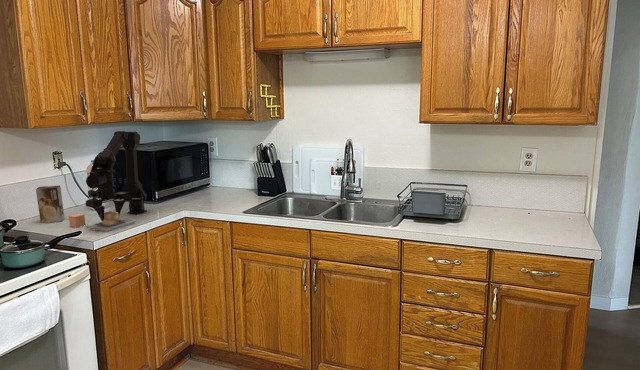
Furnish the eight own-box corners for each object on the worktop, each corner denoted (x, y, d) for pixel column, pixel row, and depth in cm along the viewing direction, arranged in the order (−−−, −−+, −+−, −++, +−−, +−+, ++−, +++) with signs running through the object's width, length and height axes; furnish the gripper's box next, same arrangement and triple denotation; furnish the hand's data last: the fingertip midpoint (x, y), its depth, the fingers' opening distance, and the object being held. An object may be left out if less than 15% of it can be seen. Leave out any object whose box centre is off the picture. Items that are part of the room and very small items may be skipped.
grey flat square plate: (114, 220, 221) (114, 217, 220) (134, 223, 215) (134, 220, 214) (86, 228, 207) (85, 225, 207) (106, 231, 202) (106, 228, 201)
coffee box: (65, 218, 225) (61, 185, 222) (62, 221, 219) (57, 187, 216) (43, 219, 223) (39, 186, 220) (39, 223, 217) (35, 188, 214)
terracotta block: (79, 224, 215) (77, 213, 214) (85, 225, 212) (84, 214, 212) (69, 226, 211) (68, 215, 210) (76, 228, 209) (75, 217, 208)
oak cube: (111, 221, 214) (110, 211, 213) (119, 223, 212) (118, 212, 211) (102, 224, 210) (100, 213, 209) (109, 225, 208) (108, 214, 207)
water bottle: (90, 210, 239) (84, 161, 234) (90, 207, 245) (85, 159, 240) (105, 209, 242) (100, 160, 237) (105, 206, 248) (100, 158, 243)
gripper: (111, 179, 219) (115, 211, 222) (75, 186, 203) (79, 221, 206) (128, 180, 214) (132, 214, 217) (92, 188, 198) (96, 224, 201)
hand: (110, 218), depth 210 cm, fingers open, 8 cm apart
